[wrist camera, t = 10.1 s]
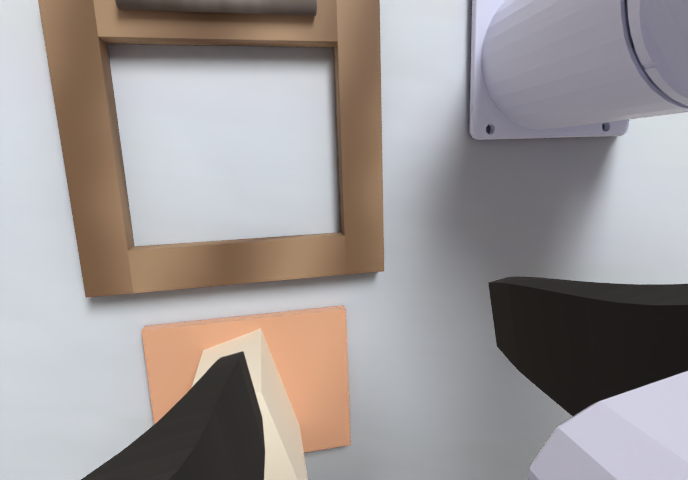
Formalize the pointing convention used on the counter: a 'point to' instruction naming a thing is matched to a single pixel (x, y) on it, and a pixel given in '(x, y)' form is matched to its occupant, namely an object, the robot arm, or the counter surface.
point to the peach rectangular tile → (288, 354)
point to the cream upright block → (266, 405)
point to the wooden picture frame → (106, 156)
